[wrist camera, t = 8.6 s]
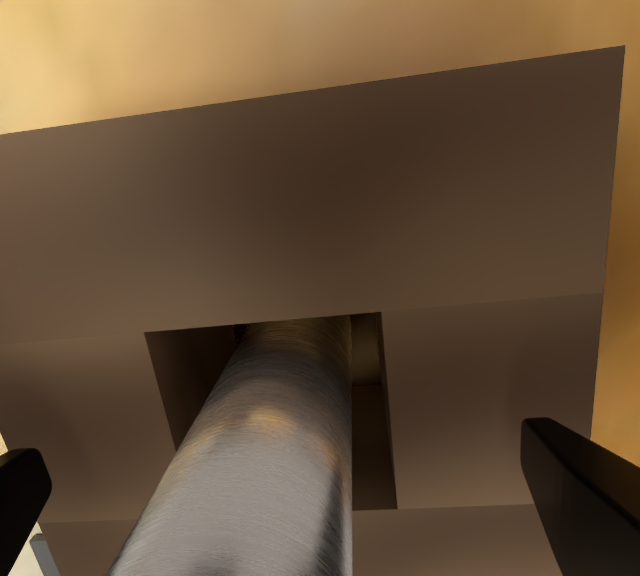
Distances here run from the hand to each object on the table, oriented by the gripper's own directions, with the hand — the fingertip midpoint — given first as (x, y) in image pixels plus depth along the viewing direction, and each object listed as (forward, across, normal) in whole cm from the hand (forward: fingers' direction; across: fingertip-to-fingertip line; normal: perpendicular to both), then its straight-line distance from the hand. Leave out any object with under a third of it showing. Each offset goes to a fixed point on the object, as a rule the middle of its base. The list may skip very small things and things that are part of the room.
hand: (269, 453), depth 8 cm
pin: (+6, 0, 0) cm, 6 cm away
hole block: (+6, 0, 0) cm, 6 cm away
